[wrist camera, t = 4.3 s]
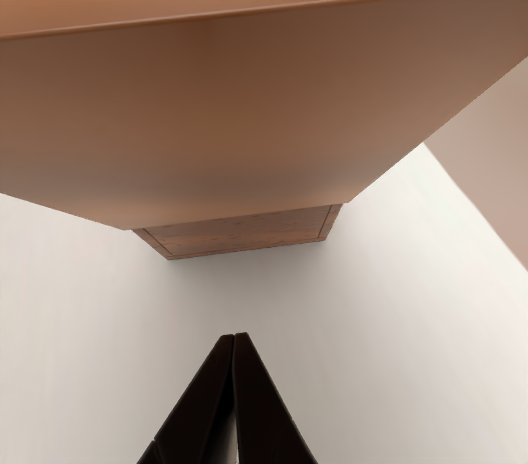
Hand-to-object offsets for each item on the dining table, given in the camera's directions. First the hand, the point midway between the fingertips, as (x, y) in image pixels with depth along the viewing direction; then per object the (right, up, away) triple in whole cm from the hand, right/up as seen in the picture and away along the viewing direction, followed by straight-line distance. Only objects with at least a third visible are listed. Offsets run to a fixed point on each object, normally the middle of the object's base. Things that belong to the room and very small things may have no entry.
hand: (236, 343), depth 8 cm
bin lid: (-1, +6, +1) cm, 6 cm away
